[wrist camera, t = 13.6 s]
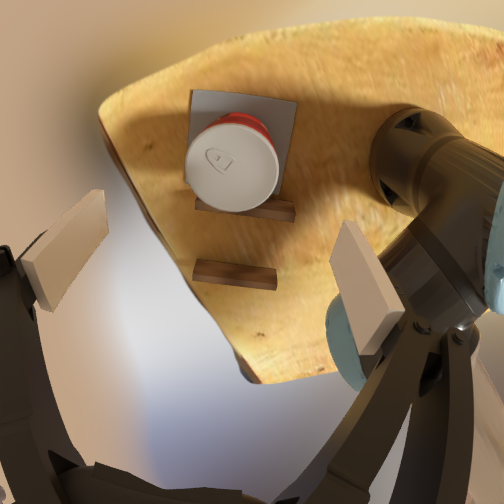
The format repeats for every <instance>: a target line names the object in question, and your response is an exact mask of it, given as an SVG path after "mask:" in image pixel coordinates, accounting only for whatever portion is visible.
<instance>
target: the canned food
mask: <svg viewBox="0 0 504 504" xmlns="http://www.w3.org/2000/svg"><path fill="white" fill-rule="evenodd" d="M185 174H186V178H187V181H188V183H189V185H190V187H191V189H192V190H193V192H194V193H195V194H196V195H197V196H198V197H199V198H200V199H201V200H202V201H204V202H205V203H206V204H208V205H210V206H212V207H214V208H217V209H219V210H223V211H229V212H240V211H246V210H249V209H252V208H255V207H257V206H258V205H260V204H262V203H263V202H264V201H265V200H266V199H267V198H268V197H269V196H270V195H271V193H272V192H273V191H274V188H275V186H276V184H277V180H278V176H279V163H278V158H277V154H276V150H275V147H274V144H273V141H272V138H271V135H270V133H269V131H268V129H267V128H266V126H265V125H264V124H263V123H262V122H261V121H260V120H259V119H257V118H255V117H254V116H252V115H249V114H246V113H240V112H233V113H228V114H225V115H222V116H220V117H219V118H217V119H216V120H214V121H213V122H212V123H211V124H210V125H208V126H207V127H206V128H205V129H204V130H203V131H202V132H201V133H200V134H199V135H198V136H197V137H196V138H195V139H194V140H193V142H192V143H191V145H190V147H189V149H188V151H187V155H186V158H185Z"/></svg>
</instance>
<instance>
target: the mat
mask: <svg viewBox="0 0 504 504" xmlns="http://www.w3.org/2000/svg"><path fill="white" fill-rule="evenodd" d="M296 108H297V103H296V102H291V101H286V100H280V99H275V98H269V97H262V96H255V95H248V94H240V93H231V92H221V91H209V90H193V96H192V104H191V114H190V124H189V135H188V148H187V151H188V149H189V147H190V145H191V143H192V142H193V140H194V139H195V138H196V137H197V136H198V135H199V134H200V133H201V132H202V131H203V130H204V129H205V128H206V127H207V126H208V125H210V124H211V123H212V122H213V121H214V120H216V119H217V118H219V117H220V116H222V115H225V114H228V113H233V112H240V113H246V114H249V115H252V116H254V117H255V118H257V119H259V120H260V121H261V122H262V123H263V124H264V125H265V126H266V128H267V129H268V131H269V133H270V135H271V138H272V141H273V144H274V147H275V150H276V154H277V158H278V163H279V176H278V180H277V184H276V186H275V188H274V191H273V192H272V193H271V194H275V195H279V192H280V188H281V183H282V178H283V173H284V168H285V163H286V158H287V153H288V149H289V144H290V139H291V134H292V128H293V123H294V118H295V113H296ZM185 183H188V181H187V178H185Z"/></svg>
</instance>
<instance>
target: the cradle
mask: <svg viewBox="0 0 504 504" xmlns="http://www.w3.org/2000/svg"><path fill="white" fill-rule="evenodd" d="M195 209H196V210H204V211H213V212H221V213H229V214H236V215H244V216H251V217H259V218H266V219H273V220H280V221H287V222H293V223H294V220H295V216H296V212H295V209H294V205H293V202H290V201H284V200H278V199H271V198H267V199H266V200H265V201H264V202H263V203H262V204H260V205H258V206H257V207H255V208H252V209H249V210H246V211H240V212H229V211H223V210H219V209H217V208H214V207H212V206H210V205H208V204H206V203H205V202H204V201H202V200H201V199H200V198H199V197H198V196H197V198H196V201H195ZM193 281H201V282H208V283H216V284H224V285H232V286H240V287H248V288H257V289H266V290H275V291H276V288H277V274H276V269H271V268H262V267H254V266H246V265H238V264H230V263H222V262H215V261H207V260H199V259H197V260H196V264H195V267H194V271H193Z"/></svg>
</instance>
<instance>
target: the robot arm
mask: <svg viewBox="0 0 504 504" xmlns="http://www.w3.org/2000/svg"><path fill="white" fill-rule="evenodd" d="M370 172H371V177H372V180H373V183H374V186H375V188H376V189H377V191H378V193H379V194H380V195H381V197H382V198H383V199H384V200H385V201H386V202H387V203H388V204H389V205H390V206H391V207H392V208H393V209H395V210H396V211H398V212H400V213H402V214H404V215H407V216H410V217H413V218H415V219H414V220H413V221H412V222H411V223H410V224H409V225H408V227H406V228H405V229H404V230H403V231H402V232H401V233H400V234H399V235H398V236H397V237H396V239H395V240H394V241H393V242H392V243H391V244H390V245H389V246H388V247H387V248H386V249H385V250H384V251H383V252H382V253H381V254H379V255H378V256H376V254H375V252H374V251H373V249H372V247H371V246H370V244H369V242H368V241H367V239H366V237H365V236H364V234H363V232H362V231H361V229H360V227H359V226H358V224H357V223H356V222H353V221H348V220H343V223H342V226H341V229H340V232H339V235H338V238H337V241H336V244H335V246H334V249H333V252H332V255H331V257H330V260H329V262H330V265H331V267H332V270H333V273H334V276H335V279H336V282H337V285H338V288H339V291H340V293H339V294H338V295H337V296H336V297H335V298H334V299H333V300H332V302H331V303H330V305H329V307H328V310H327V313H326V322H325V325H326V330H327V331H326V337H327V342H328V346H329V349H330V352H331V355H332V358H333V360H334V362H335V364H336V366H337V368H338V370H339V372H340V374H341V375H342V376H343V378H344V379H345V381H346V382H347V383H348V384H349V385H350V386H351V387H352V388H353V389H354V390H356V391H360V393H359V395H358V396H357V398H356V400H355V401H354V403H353V404H352V406H351V408H350V409H349V411H348V412H347V414H346V415H345V417H344V418H343V420H342V421H341V423H340V424H339V425H338V427H337V428H336V430H335V431H334V433H333V434H332V435H331V437H330V438H329V440H328V441H327V442H326V444H325V445H324V446H323V448H322V449H321V450H320V452H319V453H318V454H317V455H316V457H315V458H314V459H313V460H312V462H311V463H310V464H309V466H307V468H306V469H305V470H304V471H303V472H302V474H301V475H300V476H299V477H298V478H297V479H296V480H295V481H294V482H293V483H292V484H291V485H290V486H288V487H287V488H286V489H285V490H284V491H283V492H282V493H281V494H280V495H279V496H278V497H277V498H276V499H275V500H274V501H273V502H272V503H271V504H368V502H369V500H370V494H369V491H368V490H369V487H370V485H371V483H372V481H373V480H374V478H375V477H376V475H377V473H378V471H379V470H380V468H381V466H382V465H383V463H384V461H385V459H386V457H387V455H388V453H389V451H390V450H391V447H392V445H393V444H394V442H395V439H396V437H397V435H398V433H399V431H400V429H401V427H402V424H403V422H404V420H405V418H406V415H407V413H408V410H409V408H411V414H410V420H409V426H408V432H407V437H406V442H405V447H404V452H403V456H402V460H401V464H400V468H399V472H398V476H397V479H396V483H395V486H394V490H393V493H392V496H391V499H390V502H389V504H465V501H466V496H467V491H469V493H470V494H471V496H472V500H471V503H470V504H504V405H503V403H502V401H501V399H500V397H499V395H498V393H497V391H496V389H495V387H494V385H493V383H492V381H491V379H490V377H489V376H488V374H487V372H486V370H485V369H484V367H483V365H482V363H481V361H480V360H479V358H478V356H477V354H478V351H479V347H480V343H481V333H480V331H479V330H478V329H477V327H476V325H475V324H474V322H475V321H476V320H477V318H479V317H480V316H481V315H482V314H483V313H484V312H485V311H486V310H487V309H488V308H490V310H491V311H493V312H496V313H497V314H500V315H503V314H504V157H503V156H501V155H499V154H497V153H495V152H493V151H491V150H489V149H487V148H485V147H483V146H481V145H479V144H477V143H475V142H473V141H470V140H468V139H466V138H464V136H463V135H462V134H461V133H460V132H459V131H458V130H457V129H456V128H455V127H454V126H453V125H452V124H451V123H450V122H449V121H448V120H447V119H446V118H444V117H443V116H441V115H439V114H437V113H435V112H432V111H429V110H425V109H421V108H409V109H405V110H402V111H399V112H397V113H395V114H394V115H392V116H391V117H390V118H389V119H387V120H386V121H385V123H384V124H383V125H382V126H381V128H380V129H379V131H378V132H377V134H376V136H375V139H374V141H373V144H372V148H371V153H370ZM108 233H109V230H108V224H107V214H106V206H105V195H104V190H100V189H93V190H91V191H90V192H89V193H88V194H87V195H85V196H84V197H83V198H82V199H81V200H79V201H78V202H77V203H76V204H75V205H74V206H73V207H72V208H71V209H69V210H68V211H67V212H66V213H65V214H64V215H63V216H62V217H61V218H60V219H59V220H58V221H56V222H55V223H54V224H53V225H52V226H51V227H50V228H49V229H48V230H46V231H45V232H43V233H42V234H40V235H39V236H38V237H37V238H36V239H35V240H34V242H32V243H31V244H30V245H29V247H27V248H26V250H25V251H24V252H23V253H22V254H21V255H20V256H19V257H18V259H17V260H16V261H14V258H13V255H12V252H11V249H10V247H9V246H7V245H3V246H0V462H1V465H2V468H3V471H4V474H5V477H6V479H7V482H8V484H9V487H10V490H11V492H12V495H13V497H14V499H15V502H14V503H12V504H267V503H265V502H263V501H261V500H259V499H257V498H254V497H252V496H249V495H245V494H242V490H229V489H216V488H207V487H203V488H202V487H201V488H189V489H172V490H171V489H170V490H168V489H167V490H166V489H162V488H159V487H157V486H155V485H153V484H150V483H148V482H146V481H144V480H142V479H140V478H138V477H136V476H134V475H132V474H131V473H129V472H126V471H122V470H119V469H116V468H113V467H110V466H107V465H104V464H101V463H98V462H95V465H94V466H86V464H85V462H84V460H83V458H82V457H81V455H80V454H79V452H78V451H77V450H76V448H75V447H74V446H73V444H72V442H71V440H70V438H69V436H68V434H67V431H66V428H65V426H64V423H63V420H62V418H61V415H60V412H59V409H58V406H57V403H56V400H55V397H54V394H53V391H52V387H51V384H50V380H49V376H48V373H47V369H46V365H45V360H44V356H43V351H42V346H41V341H40V336H39V330H38V324H37V317H36V310H35V308H34V306H33V304H34V302H35V301H36V299H37V301H38V303H39V305H40V307H41V309H43V310H46V311H49V312H54V310H55V309H56V307H57V306H58V304H59V302H60V301H61V299H62V298H63V296H64V294H65V293H66V291H67V290H68V288H69V287H70V285H71V284H72V282H73V281H74V279H75V278H76V276H77V275H78V273H79V272H80V271H81V269H82V268H83V266H84V265H85V264H86V262H87V261H88V259H89V258H90V257H91V255H92V254H93V253H94V251H95V250H96V249H97V247H98V246H99V245H100V243H101V242H102V241H103V239H104V238H105V237H106V236H107V234H108ZM5 498H6V494H5V491H4V489H3V488H2V487H1V486H0V504H3V503H2V500H5Z"/></svg>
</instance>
